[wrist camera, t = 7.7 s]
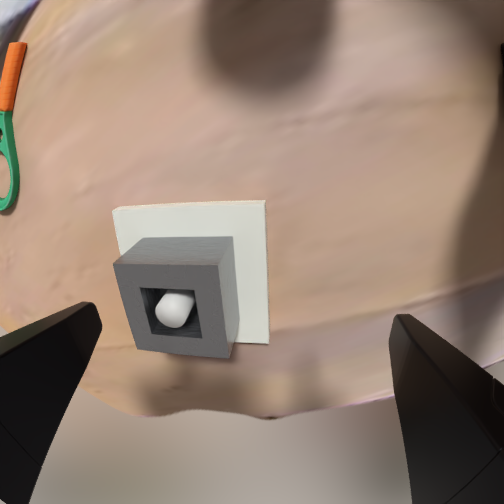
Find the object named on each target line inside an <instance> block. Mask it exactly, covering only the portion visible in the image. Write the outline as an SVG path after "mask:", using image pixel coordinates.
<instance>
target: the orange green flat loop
mask: <svg viewBox="0 0 504 504" xmlns="http://www.w3.org/2000/svg"><path fill="white" fill-rule="evenodd" d="M26 46H27V43H23V42H15V43H10V44H9V48H8V52H7V56H6V60H5V64H4V69H3V73H2V79H1V84H0V132H1V129H2V132H3V138H2V141H1V138H0V151H1V152H2V153H3V154H4V155H5V157H6V159H7V162H8V165H9V169H10V176H11V184H10V190H9V193H8V195H7V197H6V198H0V211H2V210H5V209H7V208H9V207H10V206H11V205H12V204H13V202H14V201H15V199H16V196H17V193H18V189H19V178H20V175H19V164H18V158H17V152H16V146H15V139H14V132H13V124H12V110H13V105H14V99H15V94H16V89H17V84H18V79H19V74H20V70H21V65H22V61H23V57H24V53H25V49H26Z"/></svg>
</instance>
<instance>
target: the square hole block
mask: <svg viewBox="0 0 504 504" xmlns="http://www.w3.org/2000/svg"><path fill="white" fill-rule="evenodd" d="M113 267H114V271H115V275H116V279H117V283H118V286H119V290H120V294H121V298H122V301H123V305H124V308H125V312H126V315H127V318H128V322H129V325H130V328H131V331H132V334H133V338H134V341H135V344H136V347H137V349H140V350H147V351H155V352H163V353H172V354H182V355H192V356H203V357H216V358H230V354H231V350H232V347H233V343H234V339H235V335H236V332H237V328H238V324H239V321H240V315H239V304H238V293H237V281H236V269H235V256H234V244H233V236H211V237H147V238H142V239H141V240H139V241H138V242H137V243H136V244H135V245H134V246H132V247H131V248H130V249H129V250H128V251H127V252H125V253H124V254H123V255H122V256H121V257H120V258H119V259H117V260H116V261H115V262H114V263H113ZM168 289H188V290H194V291H195V297H196V301H195V303H194V305H193V307H192V309H191V311H190V313H189V315H188V317H187V319H186V321H185V323H184V324H183V325H182V326H181V327H178V328H171V327H168V326H166V325H164V324H163V323H161V322H160V321H159V319H158V318H157V316H156V312H155V310H156V306H157V305H158V303H159V302H160V300H161V299H162V297H163V296H164V295H165V293H166V292H167V290H168Z"/></svg>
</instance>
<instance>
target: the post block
mask: <svg viewBox="0 0 504 504" xmlns="http://www.w3.org/2000/svg"><path fill="white" fill-rule="evenodd" d="M112 213H113V219H114V224H115V230H116V235H117V240H118V245H119V250H120V254H121V256H122V255H123V254H124V253H125V252H127V251H128V250H129V249H130V248H131V247H132V246H134V245H135V244H136V243H137V242H138V241H139V240H141V239H142V238H147V237H211V236H233V244H234V256H235V269H236V281H237V293H238V304H239V315H240V321H239V324H238V328H237V332H236V335H235V339H234V342H242V343H269V338H270V318H269V282H268V250H267V222H266V200H246V201H212V202H188V203H168V204H151V205H135V206H121V207H118V208H116V209H114V210H112ZM195 301H196V297H195V291H194V290H188V289H168V290H167V292H166V293H165V295H164V296H163V297H162V299H161V300H160V302H159V303H158V305H157V306H156V310H155V312H156V316H157V318H158V319H159V321H160V322H161V323H163V324H164V325H166V326H168V327H171V328H178V327H181V326H182V325H183V324H184V323H185V321H186V319H187V317H188V315H189V313H190V311H191V309H192V307H193V305H194V303H195Z"/></svg>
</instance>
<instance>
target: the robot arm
mask: <svg viewBox="0 0 504 504" xmlns="http://www.w3.org/2000/svg"><path fill="white" fill-rule="evenodd" d="M501 51H502V58H503V66H504V43H502V44H501ZM101 331H102V322H101V319H100V317H99V314H98V311H97V308H96V306H95V304H94V303H92V302H81V303H78V304H76V305H73V306H71V307H69V308H66V309H64V310H62V311H59V312H57V313H55V314H52V315H50V316H48V317H45V318H43V319H41V320H38V321H36V322H34V323H31V324H29V325H27V326H25V327H22V328H20V329H18V330H15V331H13V332H11V333H9V334H6V335H4V336H2V337H0V499H1V500H2V501H3V502H5V503H6V504H29V502H30V499H31V496H32V493H33V490H34V487H35V485H36V482H37V479H38V476H39V474H40V471H41V468H42V467H41V466H42V465H43V463H44V460H45V458H46V455H47V453H48V450H49V448H50V445H51V443H52V441H53V438H54V436H55V434H56V431H57V429H58V427H59V425H60V422H61V420H62V418H63V416H64V413H65V411H66V409H67V407H68V405H69V403H70V400H71V398H72V396H73V394H74V392H75V390H76V388H77V386H78V384H79V382H80V380H81V378H82V376H83V374H84V372H85V370H86V368H87V365H88V363H89V361H90V358H91V355H92V353H93V350H94V348H95V346H96V343H97V341H98V338H99V336H100V333H101ZM389 351H390V359H391V368H392V377H393V386H394V394H395V399H396V404H397V409H398V414H399V419H400V423H401V429H402V434H403V440H404V446H405V452H406V458H407V464H408V472H409V479H410V487H411V496H412V504H504V385H503V384H502V383H501V382H499V381H498V380H497V379H495V378H494V379H493V376H492V375H490V374H489V373H488V372H487V371H485V370H484V369H483V368H481V367H480V366H479V365H478V364H476V363H475V362H474V361H472V360H471V359H470V358H468V357H467V356H466V355H464V354H463V353H462V352H460V351H459V350H458V349H457V348H455V347H454V346H453V345H451V344H450V343H449V342H447V341H446V340H445V339H443V338H442V337H440V336H439V335H438V334H436V333H435V332H434V331H432V330H431V329H430V328H428V327H427V326H426V325H424V324H423V323H421V322H420V321H419V320H417V319H416V318H415V317H413V316H412V315H410V314H397V315H396V316H395V317H394V320H393V324H392V328H391V333H390V337H389Z"/></svg>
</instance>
